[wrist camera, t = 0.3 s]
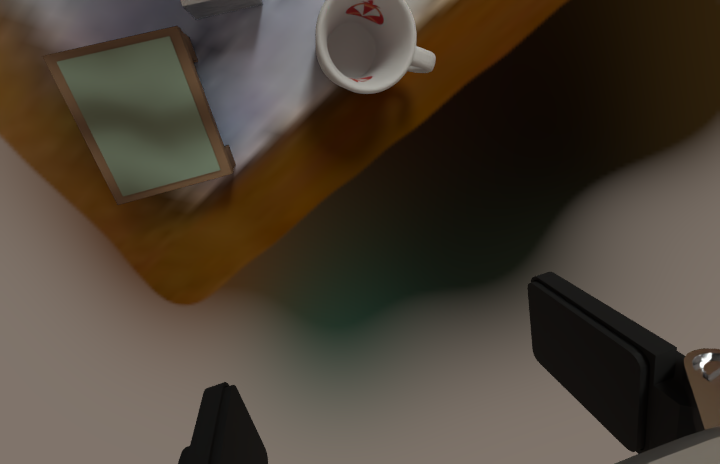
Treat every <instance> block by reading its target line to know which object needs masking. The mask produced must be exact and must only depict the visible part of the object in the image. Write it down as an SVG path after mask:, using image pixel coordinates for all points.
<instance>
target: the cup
mask: <svg viewBox="0 0 720 464" xmlns="http://www.w3.org/2000/svg"><path fill="white" fill-rule="evenodd" d="M315 35H316V55H317V59H318V62H319V65H320V67H321V69H322V71H323V72H324V74H325V75H326V76H327V77H328V78H329V79H330V80H331V81H332V82H333V83H335V84H336V85H338V86H340V87H343V88H345V89H347V90H350V91H352V92H355V93H360V94H373V93H378V92H381V91H384V90H386V89H388V88H390V87H392V86H393V85H394V84H396V83H397V82H398V81H399V80H400V79H401V78H402V77H403V76H404V74H405V73H406V72H407V71H410V72H416V73H428V72H431V71H432V70H433V68H434V65H435V60H436V57H435V55H434V54H433V53H432V52H430V51H428V50H426V49H423V48H420V47H417V46H416V26H415V22H414V18H413V15H412V13H411V10H410V8H409V6H408V5H407V3H406V1H405V0H326V1H325V3H324V5H323V6H322V8H321V11H320V13H319V16H318V19H317V24H316V34H315Z"/></svg>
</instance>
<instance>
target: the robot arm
mask: <svg viewBox="0 0 720 464" xmlns="http://www.w3.org/2000/svg"><path fill="white" fill-rule="evenodd" d="M528 299H529V310H530V323H531V335H532V347H533V353H534V356H535V358H536V359H537V361H539V363H540V364H541V365H542V366H543V367H544V368H545V369H546V370H547V371H548V372H549V373H550V374H551V375H552V376H553V377H554V378H555V379H556V380H558V382H560V383H561V385H562V386H563V387H565V388H566V389H567V390H568V391H569V392H570V393H571V394H572V395H573V396H574V397H575V398H576V399H577V400H578V401H579V402H580V403H581V404H582V405H583V406H584V407H585V408H586V409H587V410H588V411H589V412H590V413H591V414H592V415H593V416H594V417H595V418H596V419H597V420H598V421H599V422H600V423H601V424H602V425H603V426H604V427H605V428H606V429H607V430H608V431H609V432H610V433H611V434H612V435H613V436H614V437H615V438H616V439H618V440H619V442H621V443H622V444H623V445H624V446H625V447H626V448H627V449H628V450H630V451H632V452H635V451H636V452H637V453H638V455H635V456H632V457H630V458H628V459H625V460H623V461H620V462H618V463H615V464H720V350H719V349H705V348H704V349H698V350H694V351H692V352H690V353H688V354H687V355H686V356H684V355H683V354H681V353H679V352H678V351H677V347H675V346H674V345H672V344H670V343H669V342H667V341H665V340H664V339H662V338H660V337H659V336H657V335H655V334H654V333H652V332H650V331H649V330H647V329H645V328H644V327H642V326H640V325H639V324H637V323H636V322H634V321H632V320H630V319H629V318H627V317H626V316H624V315H622V314H621V313H619V312H617V311H616V310H614V309H612V308H611V307H609V306H608V305H606V304H604V303H603V302H601V301H599V300H598V299H596V298H594V297H593V296H591V295H589V294H588V293H586V292H584V291H583V290H581V289H579V288H578V287H576V286H574V285H573V284H571V283H570V282H568V281H566V280H565V279H563V278H561V277H560V276H558V275H556V274H555V273H553V272H547V273H544V274H541V275H538V276H535V277H533V278H532V280H531V283H529V284H528ZM178 464H268V457H267V452H266V449H265V447H264V445H263V443H262V440H261V438H260V436H259V434H258V432H257V430H256V428H255V426H254V424H253V421H252V420H251V417H250V415H249V413H248V411H247V409H246V407H245V404H244V402H243V400H242V398H241V396H240V394H239V392H238V390H237V388H236V386H235V385H231V386H229V385H228V383H226V382H224V383H221V384H218V385H216V386H212V387H209V388H207V389H205V391H204V393H203V397H202V402H201V405H200V409H199V413H198V417H197V421H196V425H195V429H194V433H193V437H192V441H191V445H190V446H189V447H186V448H185V449H184V450H183V451H182V453H181V456H180V459H179V463H178Z"/></svg>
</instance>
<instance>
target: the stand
mask: <svg viewBox="0 0 720 464" xmlns="http://www.w3.org/2000/svg"><path fill="white" fill-rule="evenodd" d="M43 58H44V60H45V62H46V64H47V66H48V68H49V70H50V72H51V74H52V76H53V78H54V80H55V82H56V84H57V86H58V88H59V90H60V92H61V94H62V96H63V98H64V100H65V102H66V104H67V106H68V108H69V110H70V112H71V114H72V116H73V118H74V120H75V122H76V123H77V125H78V127H79V129H80V131H81V133H82V135H83V137H84V139H85V141H86V143H87V145H88V147H89V149H90V151H91V153H92V155H93V157H94V159H95V161H96V163H97V165H98V167H99V169H100V171H101V173H102V175H103V177H104V179H105V181H106V183H107V185H108V187H109V189H110V191H111V193H112V195H113V197H114V199H115V201H116V203H117V205H120V204H124V203H127V202H131V201H135V200H138V199H142V198H146V197H149V196H153V195H156V194H160V193H164V192H167V191H171V190H175V189H178V188H182V187H186V186H189V185H193V184H197V183H200V182H204V181H208V180H211V179H215V178H218V177H222V176H226V175H229V174H232V173H233V172H234V171H233V168H234V167H235V165H236V164H235V161H234V158H233V156H232V153H231V150H230V147H229V145H227V146H224V144H223V142H222V139H221V136H220V134H219V131H218V128H217V125H216V123H215V120H214V117H213V115H212V112H211V109H210V107H209V104H208V101H207V98H206V96H205V93H204V90H203V88H202V85H201V82H200V79H199V77H198V74H197V71H196V69H195V66H194V62H198V60H197V57H196V54H195V51H194V49H193V46H192V43H191V41H190V38H189V37H188V36H187V35H186V34H184V33H183V32H182V31H181V29H180V28H179V27H178V26H174V27H170V28H165V29H161V30H156V31H152V32H147V33H143V34H139V35H134V36H130V37H125V38H121V39H116V40H112V41H107V42H103V43H98V44H94V45H90V46H85V47H81V48H76V49H72V50H67V51H63V52H58V53H54V54H49V55H45V56H43Z"/></svg>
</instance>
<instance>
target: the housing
mask: <svg viewBox="0 0 720 464" xmlns="http://www.w3.org/2000/svg"><path fill="white" fill-rule="evenodd" d="M181 3H182V6H183V7H184V8H185V9H186V10H187V11H188V12H189V14H190V15H191V16H192V17H193V18H194V19H195V20H197V19H201V18H206V17H210V16H215V15H219V14H223V13H228V12H232V11H237V10H241V9H246V8H250V7H255V6H259V5H263V2H262V0H181Z"/></svg>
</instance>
